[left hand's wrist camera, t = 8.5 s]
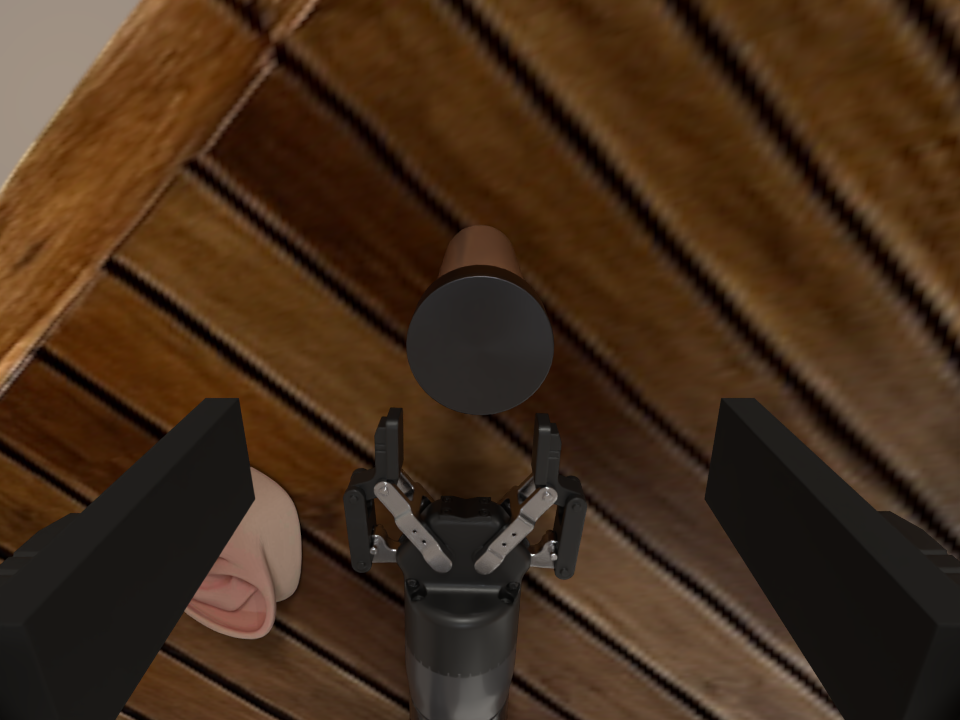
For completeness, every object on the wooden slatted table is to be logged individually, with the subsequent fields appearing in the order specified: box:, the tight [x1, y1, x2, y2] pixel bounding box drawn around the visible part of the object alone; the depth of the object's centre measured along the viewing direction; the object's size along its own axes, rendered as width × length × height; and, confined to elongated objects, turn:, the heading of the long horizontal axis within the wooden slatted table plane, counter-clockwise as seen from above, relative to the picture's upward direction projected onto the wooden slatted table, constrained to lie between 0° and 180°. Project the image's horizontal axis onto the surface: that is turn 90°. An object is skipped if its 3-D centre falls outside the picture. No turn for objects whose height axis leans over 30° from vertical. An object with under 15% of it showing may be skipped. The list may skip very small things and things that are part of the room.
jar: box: [437, 225, 523, 279], centre depth 28 cm, size 4×4×16 cm
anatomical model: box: [184, 467, 302, 639], centre depth 41 cm, size 13×4×12 cm
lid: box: [406, 265, 554, 415], centre depth 21 cm, size 5×5×2 cm
